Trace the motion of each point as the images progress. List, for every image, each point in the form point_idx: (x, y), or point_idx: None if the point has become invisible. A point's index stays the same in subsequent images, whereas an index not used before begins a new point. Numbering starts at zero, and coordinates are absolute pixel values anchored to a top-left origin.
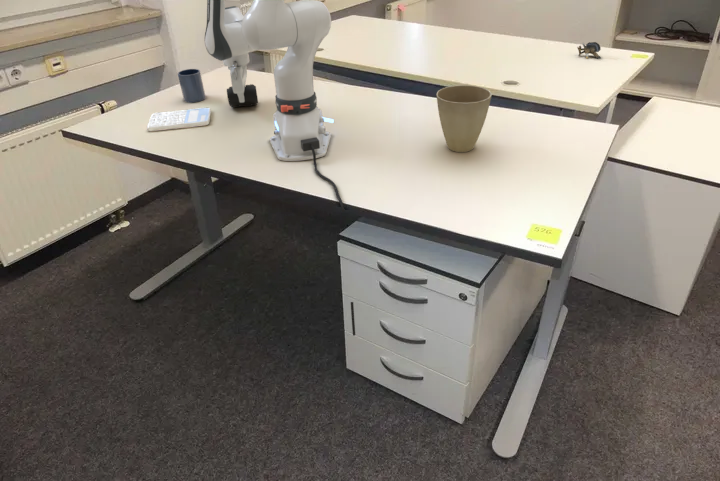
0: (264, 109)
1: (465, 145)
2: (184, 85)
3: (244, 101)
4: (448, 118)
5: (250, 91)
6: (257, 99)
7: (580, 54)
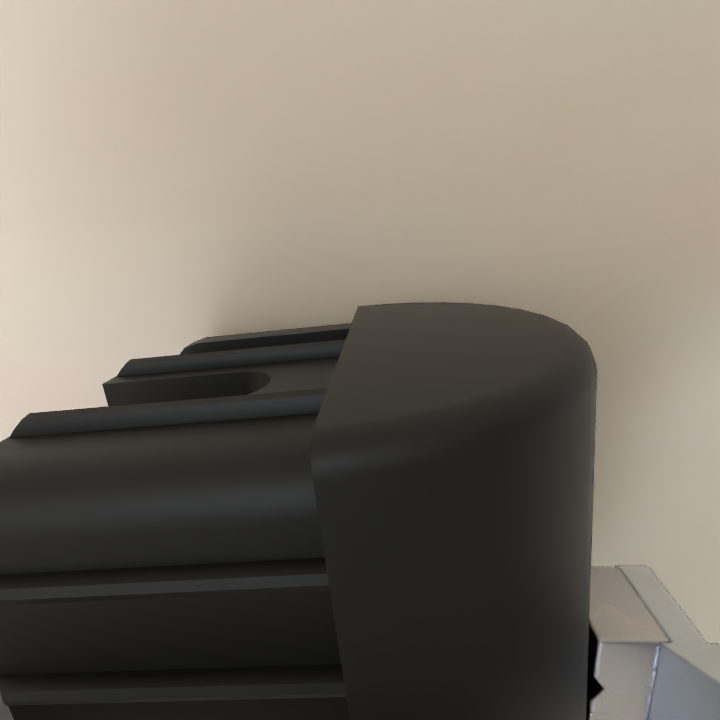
0: (530, 189)
1: None
2: None
3: (648, 568)
4: None
5: (572, 551)
6: (525, 312)
7: None
